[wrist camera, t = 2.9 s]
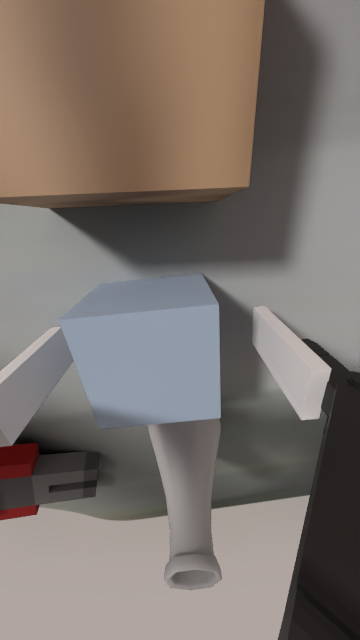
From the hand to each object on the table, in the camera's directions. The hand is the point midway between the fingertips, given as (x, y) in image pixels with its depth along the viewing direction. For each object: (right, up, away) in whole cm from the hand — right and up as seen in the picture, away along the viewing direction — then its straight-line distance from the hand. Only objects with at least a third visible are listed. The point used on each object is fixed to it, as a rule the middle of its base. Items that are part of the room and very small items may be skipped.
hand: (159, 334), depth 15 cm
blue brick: (0, +1, +1) cm, 2 cm away
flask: (+2, -9, +6) cm, 11 cm away
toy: (-15, -14, +8) cm, 22 cm away
